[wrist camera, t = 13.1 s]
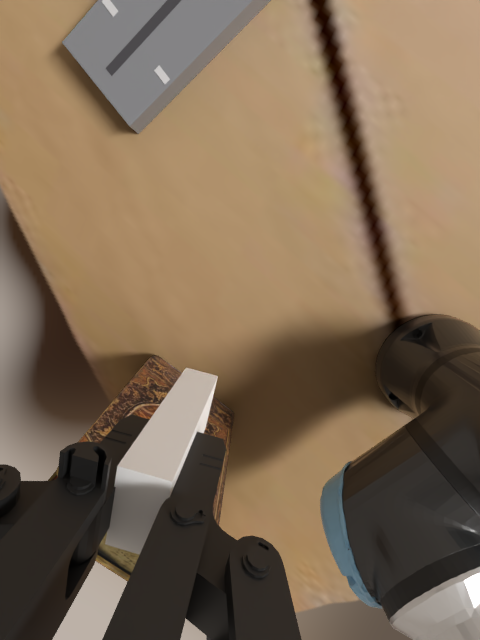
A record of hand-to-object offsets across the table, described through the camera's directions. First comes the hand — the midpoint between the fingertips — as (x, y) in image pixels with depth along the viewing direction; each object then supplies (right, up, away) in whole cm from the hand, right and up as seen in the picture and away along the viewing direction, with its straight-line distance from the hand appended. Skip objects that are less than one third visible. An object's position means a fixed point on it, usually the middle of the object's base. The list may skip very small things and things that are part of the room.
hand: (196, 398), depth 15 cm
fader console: (-3, +40, +22) cm, 46 cm away
